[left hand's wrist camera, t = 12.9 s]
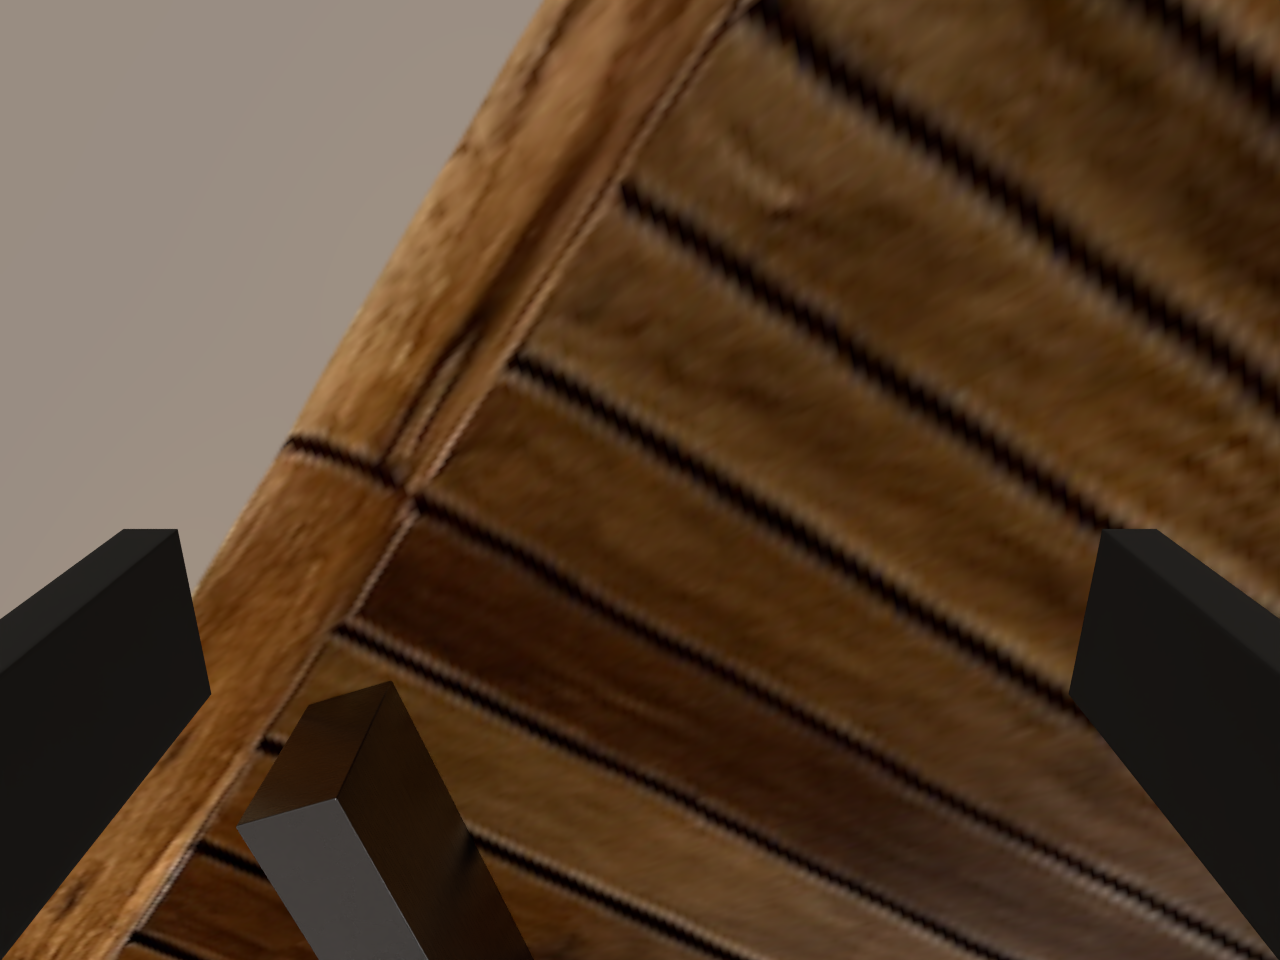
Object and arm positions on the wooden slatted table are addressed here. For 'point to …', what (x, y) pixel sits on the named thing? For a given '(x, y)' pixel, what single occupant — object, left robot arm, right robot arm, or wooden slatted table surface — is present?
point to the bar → (373, 841)
